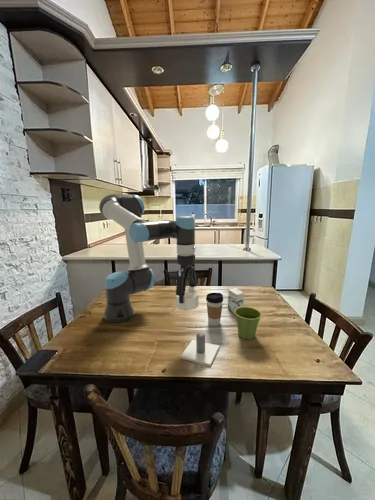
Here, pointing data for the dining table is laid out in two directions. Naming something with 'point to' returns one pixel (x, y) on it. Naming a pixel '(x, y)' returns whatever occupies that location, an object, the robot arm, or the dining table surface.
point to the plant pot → (247, 321)
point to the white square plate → (200, 351)
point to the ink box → (235, 299)
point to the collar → (189, 300)
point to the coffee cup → (214, 308)
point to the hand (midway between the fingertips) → (187, 304)
